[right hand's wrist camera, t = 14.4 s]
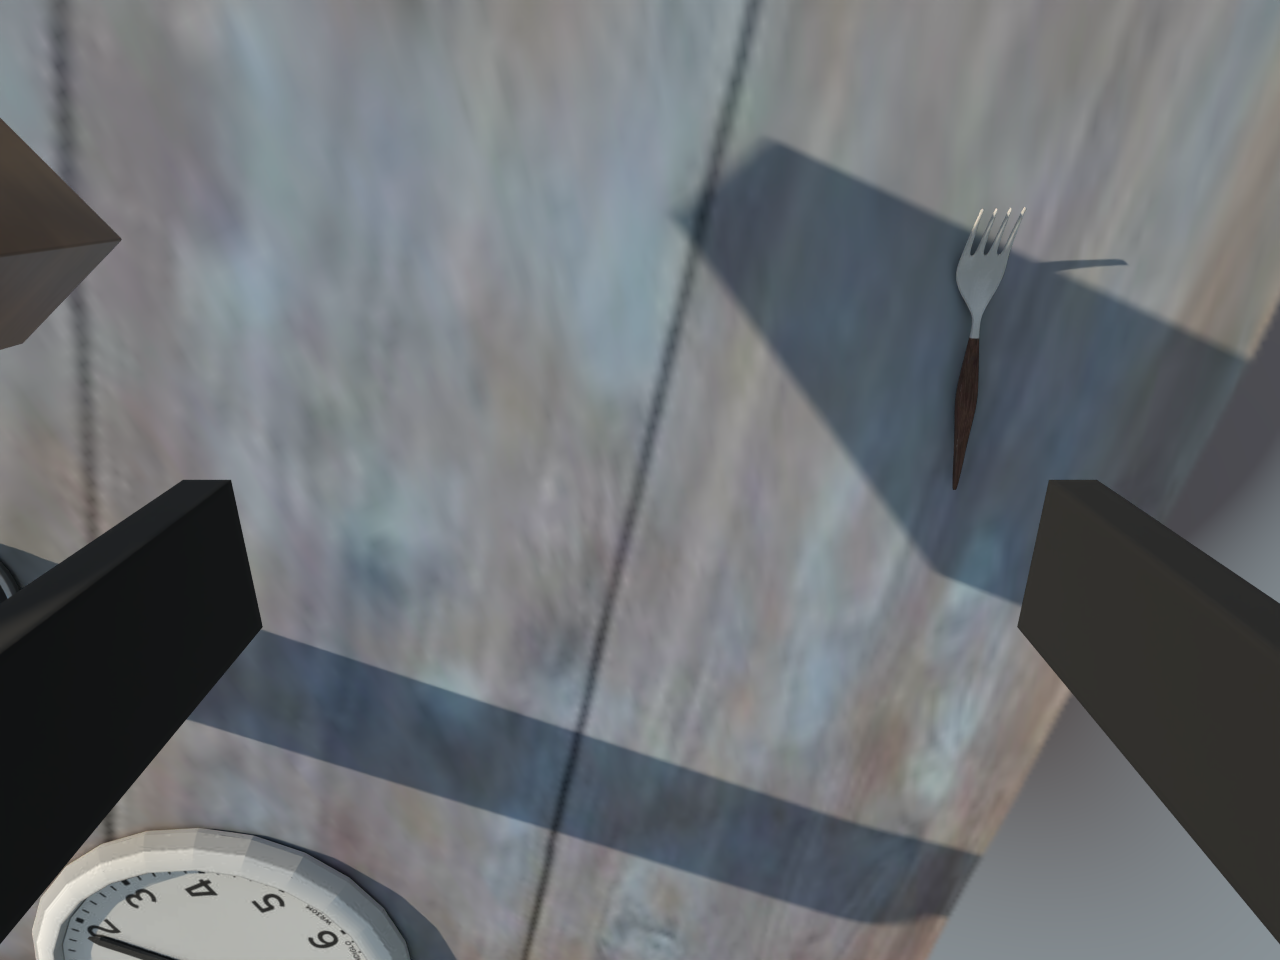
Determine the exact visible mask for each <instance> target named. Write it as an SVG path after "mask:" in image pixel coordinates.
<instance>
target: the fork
mask: <svg viewBox="0 0 1280 960" xmlns="http://www.w3.org/2000/svg"><path fill="white" fill-rule="evenodd" d="M1011 210H1012V209H1011V208H1010V209H1009V211H1008V213H1007V215H1006V217H1005V219H1004V221H1003V223H1002V225H1001V227H1000V229H999V231H998V233H997V235H996V238H995V240H994V242H993V244H992V247H991V249H990V251H989V252H988V254H986V255H984V248H985V245H986V242H987V239H988V236H989V233H990V230H991V227H992V224H993V221H994V218H995V216H996V213H997V208H996V209H995V211H994V213H993V215H992V217H991V219H990V222H989V224H988V226H987V228H986V230H985V232H984V235H983V237H982V239H981V241H980V244H979V246H978V248H977V250H976V252H975V254H974V255H970V251H971V247H972V244H973V241H974V237H975V234H976V231H977V228H978V225H979V222H980V219H981V216H982V214H983V212H984V209H981V211H980V214H979V216H978V218H977V220H976V222H975V225H974V227H973V229H972V231H971V233H970V236H969V238H968V240H967V243H966V245H965V248H964V251H963V253H962V256H961V258H960V261H959V263H958V267H957V271H956V281H957V286H958V289H959V291H960V293H961V295H962V297H963V299H964V301H965V302H966V304H967V306H968V308H969V310H970V313H971V316H972V327H971V332H970V337H969V341H968V345H967V349H966V353H965V357H964V361H963V365H962V369H961V373H960V377H959V381H958V386H957V391H956V399H955V428H954V460H953V490H956V488H957V485H958V482H959V478H960V474H961V469H962V465H963V460H964V456H965V451H966V447H967V442H968V438H969V434H970V430H971V426H972V422H973V418H974V413H975V409H976V403H977V395H978V372H979V329H980V321H981V317H982V315H983V312H984V310H985V308H986V306H987V305H988V303H989V301H990V300H991V298H992V296H993V295H994V293H995V291H996V290H997V288H998V286H999V284H1000V282H1001V280H1002V277H1003V275H1004V272H1005V269H1006V265H1007V261H1008V257H1009V253H1010V250H1011V247H1012V244H1013V241H1014V239H1015V236H1016V233H1017V230H1018V228H1019V225H1020V223H1021V220H1022V217H1023V215H1024V213H1025V211H1026V208H1025V207H1024V208H1023V210H1022V212H1021V214H1020V216H1019V218H1018V220H1017V222H1016V224H1015V226H1014V228H1013V230H1012V232H1011V234H1010V236H1009V238H1008V241H1007V243H1006V245H1005V247H1004V249H1003V251H1002V252H1001V254H999V255H998V254H997V250H998V246H999V243H1000V240H1001V237H1002V234H1003V232H1004V229H1005V226H1006V223H1007V221H1008V218H1009V215H1010V213H1011Z"/></svg>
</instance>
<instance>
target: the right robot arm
mask: <svg viewBox="0 0 1280 960" xmlns="http://www.w3.org/2000/svg"><path fill="white" fill-rule="evenodd" d="M262 627H263V626H262V622H261V617H260V612H259V608H258V603H257V599H256V594H255V589H254V585H253V580H252V575H251V571H250V566H249V561H248V557H247V552H246V548H245V543H244V538H243V534H242V529H241V524H240V520H239V515H238V510H237V506H236V501H235V497H234V492H233V487H232V483H231V480H182V481H181V482H179V483H178V484H176V485H175V486H173V487H172V488H171V489H169V490H168V491H166V492H165V493H163V494H162V495H160V496H159V497H157V498H156V499H154V500H153V501H151V502H150V503H148V504H147V505H145V506H144V507H142V508H141V509H139V510H138V511H137V512H135V513H134V514H132V515H131V516H129V517H128V518H126V519H125V520H123V521H122V522H120V523H119V524H117V525H116V526H114V527H113V528H111V529H110V530H108V531H107V532H105V533H104V534H102V535H101V536H100V537H98V538H97V539H95V540H94V541H92V542H91V543H89V544H88V545H86V546H85V547H83V548H82V549H80V550H79V551H77V552H76V553H74V554H73V555H71V556H70V557H68V558H67V559H66V560H64V561H63V562H61V563H60V564H58V565H57V566H55V567H54V568H52V569H51V570H49V571H48V572H46V573H45V574H43V575H42V576H40V577H39V578H37V579H36V580H34V581H33V582H32V583H30V584H29V585H27V586H26V587H24V588H23V589H21V590H20V591H18V592H17V593H15V594H14V595H12V596H11V597H9V598H8V599H6V600H5V601H3V602H2V603H0V944H1V942H2V941H3V940H4V939H5V938H6V936H7V935H8V934H9V933H10V932H11V930H12V929H13V928H14V927H15V926H16V924H17V923H18V922H19V921H20V919H21V918H22V917H23V916H24V915H25V913H26V912H27V911H28V910H29V909H30V907H31V906H32V905H33V904H34V903H35V901H36V900H37V899H38V898H39V897H40V895H41V894H42V893H43V892H44V890H45V889H46V888H47V887H48V886H49V884H50V883H51V882H52V881H53V880H54V878H55V877H56V876H57V875H58V874H59V872H60V871H61V870H62V869H63V868H64V866H65V865H66V864H67V863H68V861H69V860H70V859H71V858H72V857H73V855H74V854H75V853H76V852H77V851H78V849H79V848H80V847H81V846H82V845H83V843H84V842H85V841H86V840H87V839H88V837H89V836H90V835H91V834H92V832H93V831H94V830H95V829H96V828H97V826H98V825H99V824H100V823H101V822H102V820H103V819H104V818H105V817H106V816H107V814H108V813H109V812H110V811H111V810H112V808H113V807H114V806H115V805H116V803H117V802H118V801H119V800H120V799H121V797H122V796H123V795H124V794H125V793H126V791H127V790H128V789H129V788H130V787H131V785H132V784H133V783H134V782H135V781H136V779H137V778H138V777H139V776H140V775H141V773H142V772H143V771H144V770H145V768H146V767H147V766H148V765H149V764H150V762H151V761H152V760H153V759H154V758H155V756H156V755H157V754H158V753H159V752H160V750H161V749H162V748H163V747H164V746H165V744H166V743H167V742H168V741H169V739H170V738H171V737H172V736H173V735H174V733H175V732H176V731H177V730H178V729H179V727H180V726H181V725H182V724H183V723H184V721H185V720H186V719H187V718H188V717H189V715H190V714H191V713H192V712H193V710H194V709H195V708H196V707H197V706H198V704H199V703H200V702H201V701H202V700H203V698H204V697H205V696H206V695H207V694H208V692H209V691H210V690H211V689H212V688H213V686H214V685H215V684H216V683H217V681H218V680H219V679H220V678H221V677H222V675H223V674H224V673H225V672H226V671H227V669H228V668H229V667H230V666H231V665H232V663H233V662H234V661H235V660H236V659H237V657H238V656H239V655H240V654H241V652H242V651H243V650H244V649H245V648H246V646H247V645H248V644H249V643H250V642H251V640H252V639H253V638H254V637H255V636H256V634H257V633H258V632H259V631H260V630H261V628H262ZM1017 627H1018V628H1019V630H1020V631H1021V632H1022V633H1023V634H1024V636H1025V637H1026V638H1027V639H1028V640H1029V642H1030V643H1031V644H1032V645H1033V646H1034V648H1035V649H1036V650H1037V651H1038V652H1039V654H1040V655H1041V656H1042V657H1043V659H1044V660H1045V661H1046V662H1047V663H1048V665H1049V666H1050V667H1051V668H1052V669H1053V671H1054V672H1055V673H1056V674H1057V675H1058V677H1059V678H1060V679H1061V680H1062V681H1063V683H1064V684H1065V685H1066V686H1067V688H1068V689H1069V690H1070V691H1071V692H1072V694H1073V695H1074V696H1075V697H1076V698H1077V700H1078V701H1079V702H1080V703H1081V704H1082V706H1083V707H1084V708H1085V709H1086V710H1087V712H1088V713H1089V714H1090V715H1091V717H1092V718H1093V719H1094V720H1095V721H1096V723H1097V724H1098V725H1099V726H1100V727H1101V729H1102V730H1103V731H1104V732H1105V733H1106V735H1107V736H1108V737H1109V738H1110V739H1111V741H1112V742H1113V743H1114V744H1115V745H1116V747H1117V748H1118V749H1119V750H1120V752H1121V753H1122V754H1123V755H1124V756H1125V758H1126V759H1127V760H1128V761H1129V762H1130V764H1131V765H1132V766H1133V767H1134V768H1135V770H1136V771H1137V772H1138V773H1139V775H1140V776H1141V777H1142V778H1143V779H1144V781H1145V782H1146V783H1147V784H1148V785H1149V786H1150V788H1151V789H1152V790H1153V791H1154V793H1155V794H1156V795H1157V796H1158V797H1159V799H1160V800H1161V801H1162V802H1163V803H1164V805H1165V806H1166V807H1167V808H1168V810H1169V811H1170V812H1171V813H1172V814H1173V815H1174V817H1175V818H1176V819H1177V820H1178V822H1179V823H1180V824H1181V825H1182V826H1183V828H1184V829H1185V830H1186V831H1187V832H1188V834H1189V835H1190V836H1191V837H1192V839H1193V840H1194V841H1195V842H1196V843H1197V845H1198V846H1199V847H1200V848H1201V849H1202V851H1203V852H1204V853H1205V854H1206V855H1207V857H1208V858H1209V859H1210V860H1211V861H1212V863H1213V864H1214V865H1215V866H1216V867H1217V869H1218V870H1219V871H1220V872H1221V874H1222V875H1223V876H1224V877H1225V878H1226V880H1227V881H1228V882H1229V883H1230V884H1231V886H1232V887H1233V888H1234V889H1235V890H1236V892H1237V893H1238V894H1239V895H1240V897H1241V898H1242V899H1243V900H1244V901H1245V903H1246V904H1247V905H1248V906H1249V907H1250V909H1251V910H1252V911H1253V912H1254V913H1255V915H1256V916H1257V917H1258V918H1259V919H1260V921H1261V922H1262V923H1263V924H1264V926H1265V927H1266V928H1267V929H1268V930H1269V932H1270V933H1271V934H1272V935H1273V936H1274V938H1275V939H1276V940H1277V941H1278V942H1279V944H1280V603H1278V602H1277V601H1275V600H1274V599H1272V598H1271V597H1269V596H1268V595H1266V594H1265V593H1263V592H1262V591H1260V590H1259V589H1257V588H1256V587H1254V586H1253V585H1251V584H1250V583H1248V582H1247V581H1246V580H1244V579H1243V578H1241V577H1240V576H1238V575H1237V574H1235V573H1234V572H1232V571H1231V570H1229V569H1228V568H1226V567H1225V566H1223V565H1222V564H1220V563H1219V562H1217V561H1216V560H1214V559H1213V558H1212V557H1210V556H1209V555H1207V554H1206V553H1204V552H1203V551H1201V550H1200V549H1198V548H1197V547H1195V546H1194V545H1192V544H1191V543H1189V542H1188V541H1186V540H1185V539H1183V538H1182V537H1180V536H1179V535H1177V534H1176V533H1175V532H1173V531H1172V530H1170V529H1169V528H1167V527H1166V526H1164V525H1163V524H1161V523H1160V522H1158V521H1157V520H1155V519H1154V518H1152V517H1151V516H1149V515H1148V514H1146V513H1145V512H1143V511H1142V510H1141V509H1139V508H1138V507H1136V506H1135V505H1133V504H1132V503H1130V502H1129V501H1127V500H1126V499H1124V498H1123V497H1121V496H1120V495H1118V494H1117V493H1115V492H1114V491H1112V490H1111V489H1109V488H1108V487H1107V486H1105V485H1104V484H1102V483H1101V482H1099V481H1098V480H1049V483H1048V487H1047V492H1046V496H1045V501H1044V506H1043V510H1042V515H1041V520H1040V524H1039V529H1038V534H1037V538H1036V543H1035V548H1034V552H1033V557H1032V561H1031V566H1030V571H1029V575H1028V580H1027V585H1026V589H1025V594H1024V599H1023V603H1022V608H1021V612H1020V617H1019V622H1018V626H1017Z"/></svg>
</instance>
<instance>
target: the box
mask: <svg viewBox="0 0 1280 960" xmlns="http://www.w3.org/2000/svg"><path fill="white" fill-rule="evenodd" d="M120 241H121V238H120V237H119V236H118V235H117V234H116V233H115V232H114V231H113V230H112V229H111V228H110V227H109V226H108V225H107V224H106V223H105V222H104V221H103V220H102V219H101V218H100V217H99V216H98V215H97V214H96V213H95V212H94V211H93V210H92V209H91V208H90V207H89V206H88V205H87V204H86V203H85V202H84V201H83V200H82V199H81V198H80V197H79V196H78V195H77V194H76V193H75V192H74V191H73V190H72V189H71V188H70V187H69V186H68V185H67V184H66V183H65V182H64V181H63V180H62V179H61V178H60V177H59V176H58V175H57V174H56V173H55V172H54V171H53V170H52V169H51V168H50V167H49V166H48V165H47V164H46V163H45V162H44V161H43V160H42V159H41V158H40V157H39V156H38V155H37V154H36V153H35V152H34V151H33V150H32V149H31V148H30V147H29V146H28V145H27V144H26V143H25V142H24V141H23V140H22V139H21V138H20V137H19V136H18V135H17V134H16V133H15V132H14V131H13V130H12V129H11V128H10V127H9V126H8V125H7V124H6V123H5V122H4V121H3V120H2V119H1V118H0V350H1V349H4V348H8V347H12V346H15V345H19V344H22V343H23V342H24V341H25V340H26V339H27V338H28V337H29V336H30V335H31V334H32V333H33V332H34V331H35V330H36V329H37V328H38V327H39V326H40V325H41V324H42V323H43V322H44V321H45V319H46V318H47V317H48V316H49V315H50V314H51V313H52V312H53V311H54V310H55V309H56V308H57V307H58V306H59V305H60V304H61V303H62V302H63V301H64V300H65V299H66V298H67V297H68V295H69V294H70V293H71V292H72V291H73V290H74V289H75V288H76V287H77V286H78V285H79V284H80V283H81V282H82V281H83V280H84V279H85V278H86V277H87V276H88V275H89V274H90V273H91V271H92V270H93V269H94V268H95V267H96V266H97V265H98V264H99V263H100V262H101V261H102V260H103V259H104V258H105V257H106V256H107V255H108V254H109V253H110V252H111V251H112V250H113V249H114V247H115V246H116V245H117V244H118V243H119V242H120Z"/></svg>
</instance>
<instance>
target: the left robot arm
mask: <svg viewBox="0 0 1280 960" xmlns="http://www.w3.org/2000/svg"><path fill="white" fill-rule="evenodd" d="M18 591H20V590H19V588H18V585H17V583H16V581H15V580H14V578H13V576H12V575H11V573H10V572H9V571H8V569H7V568H6V567H5V566H4V564H3V563H2V562H1V561H0V603H2V602H3V601H5V600H6V599H8V598H9V597H11V596H12V595H14V594H15V593H17V592H18Z"/></svg>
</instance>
